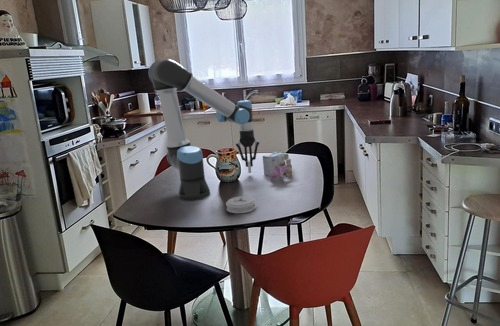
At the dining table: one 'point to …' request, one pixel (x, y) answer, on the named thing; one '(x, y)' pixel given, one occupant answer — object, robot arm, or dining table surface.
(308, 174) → the dining table surface
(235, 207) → the lid
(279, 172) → the lily
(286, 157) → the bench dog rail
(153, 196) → the dining table surface
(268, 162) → the light bulb box
